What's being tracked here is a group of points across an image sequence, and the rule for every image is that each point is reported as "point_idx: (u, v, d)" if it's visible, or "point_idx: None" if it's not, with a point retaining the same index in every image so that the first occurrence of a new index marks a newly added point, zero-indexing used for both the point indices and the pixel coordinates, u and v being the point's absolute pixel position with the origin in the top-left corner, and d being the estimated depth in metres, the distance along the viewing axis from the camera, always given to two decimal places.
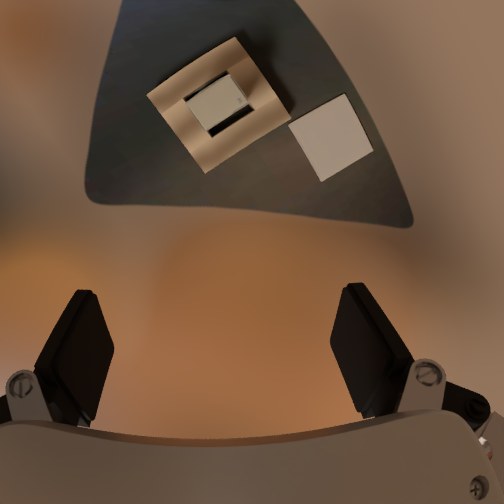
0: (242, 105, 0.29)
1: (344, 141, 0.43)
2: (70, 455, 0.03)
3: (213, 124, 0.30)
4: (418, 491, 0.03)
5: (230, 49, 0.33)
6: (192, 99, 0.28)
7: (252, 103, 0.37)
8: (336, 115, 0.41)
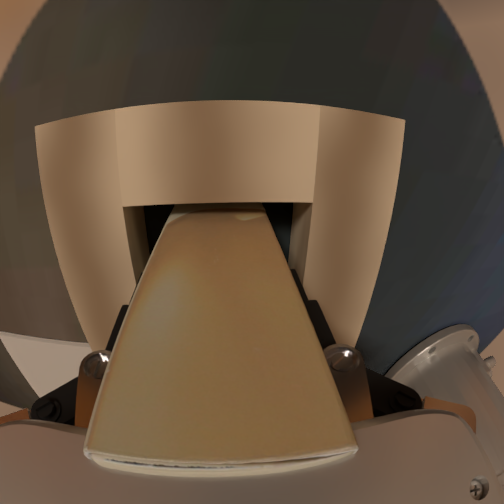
0: None
1: None
2: (70, 455, 0.03)
3: None
4: (418, 491, 0.03)
5: None
6: None
7: None
8: None
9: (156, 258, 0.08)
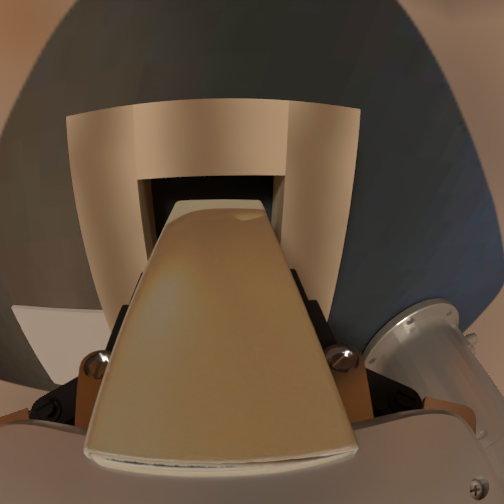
0: None
1: (67, 363, 0.23)
2: (70, 455, 0.03)
3: None
4: (418, 491, 0.03)
5: None
6: None
7: None
8: None
9: (156, 258, 0.08)
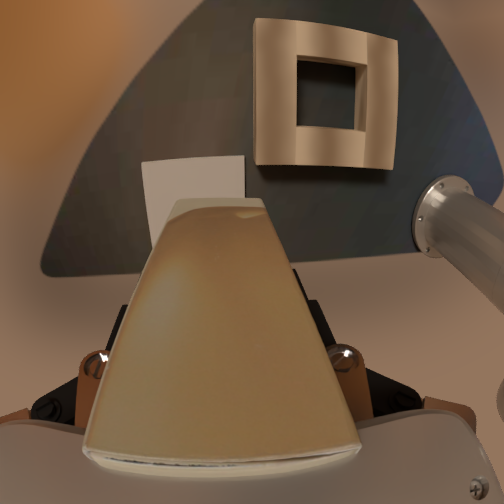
0: None
1: None
2: (70, 455, 0.03)
3: None
4: (418, 491, 0.03)
5: (383, 153, 0.27)
6: None
7: (306, 129, 0.26)
8: None
9: (156, 255, 0.08)
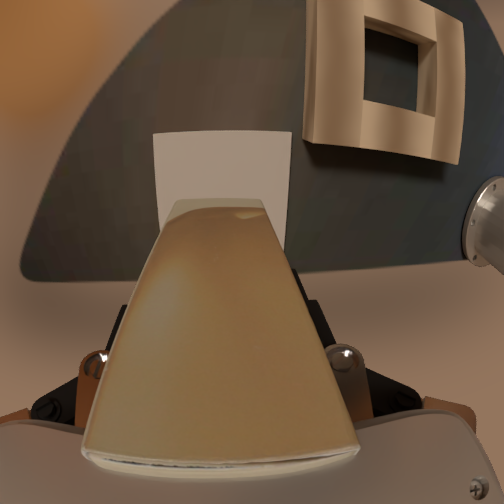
0: None
1: None
2: (70, 455, 0.03)
3: None
4: (418, 491, 0.03)
5: (450, 145, 0.20)
6: None
7: (374, 104, 0.18)
8: None
9: (156, 256, 0.08)
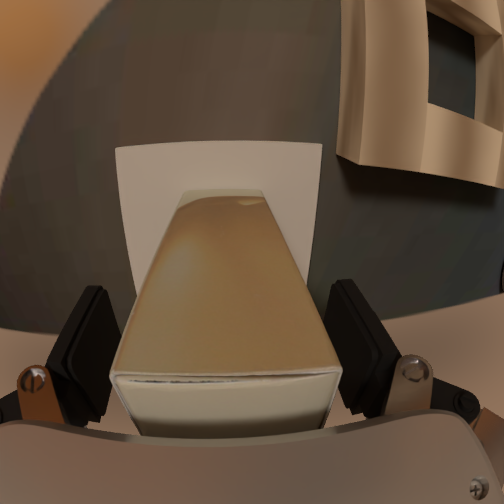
0: None
1: None
2: (70, 455, 0.03)
3: (133, 413, 0.05)
4: (418, 491, 0.03)
5: None
6: (326, 397, 0.05)
7: (441, 111, 0.11)
8: None
9: (170, 233, 0.10)
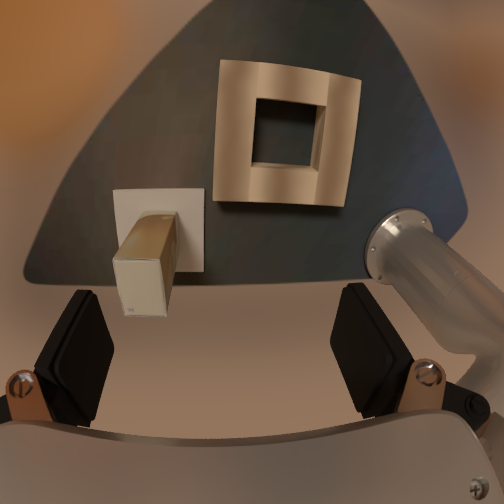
0: (124, 308, 0.24)
1: None
2: (70, 455, 0.03)
3: (116, 271, 0.22)
4: (418, 491, 0.03)
5: (335, 191, 0.32)
6: (159, 269, 0.23)
7: (260, 169, 0.29)
8: (183, 249, 0.36)
9: (132, 229, 0.27)
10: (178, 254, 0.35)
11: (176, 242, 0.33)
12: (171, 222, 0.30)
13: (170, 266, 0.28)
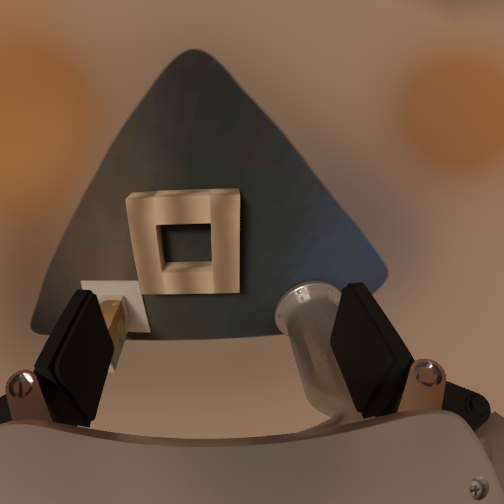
0: None
1: None
2: (70, 455, 0.03)
3: None
4: (418, 491, 0.03)
5: (229, 283, 0.42)
6: None
7: (169, 273, 0.41)
8: (133, 318, 0.47)
9: None
10: (130, 322, 0.47)
11: (125, 317, 0.44)
12: (117, 309, 0.41)
13: (117, 339, 0.39)
